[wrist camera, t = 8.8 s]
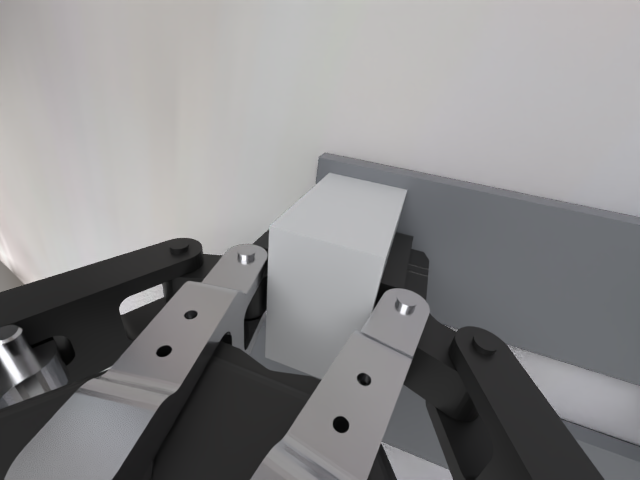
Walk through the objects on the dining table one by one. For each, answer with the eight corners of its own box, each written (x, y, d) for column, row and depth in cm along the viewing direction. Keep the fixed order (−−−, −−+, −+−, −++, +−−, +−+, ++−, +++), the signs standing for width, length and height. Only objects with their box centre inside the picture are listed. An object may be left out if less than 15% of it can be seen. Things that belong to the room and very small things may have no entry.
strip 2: (663, 455, 14) (781, 663, 9) (588, 511, 17) (646, 689, 12) (172, 282, 20) (84, 351, 15) (183, 347, 23) (113, 421, 18)
